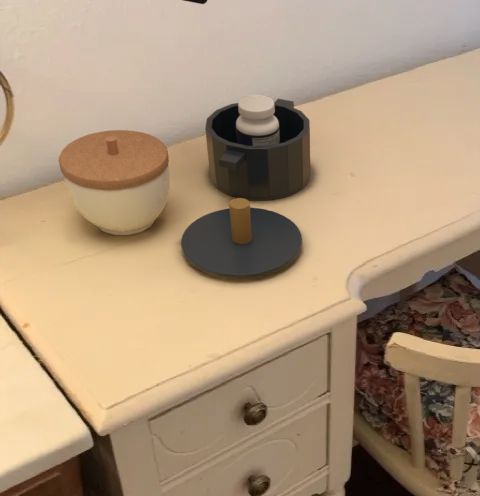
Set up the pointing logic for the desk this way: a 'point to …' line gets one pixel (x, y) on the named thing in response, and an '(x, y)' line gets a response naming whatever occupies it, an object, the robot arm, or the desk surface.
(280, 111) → the pan
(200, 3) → the robot arm
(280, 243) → the pan lid
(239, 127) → the pill bottle
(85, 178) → the lidded bowl
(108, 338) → the desk surface
